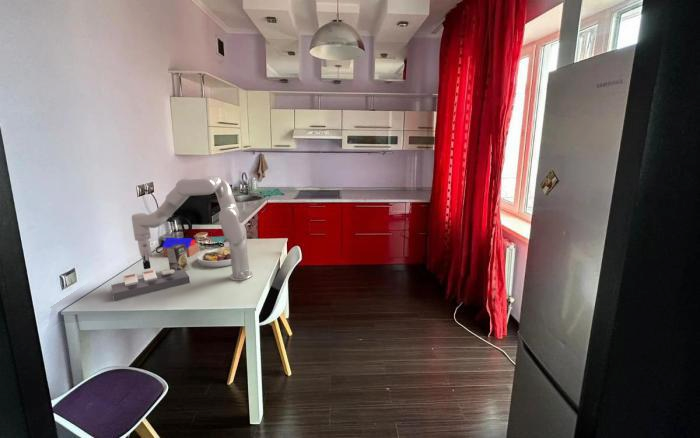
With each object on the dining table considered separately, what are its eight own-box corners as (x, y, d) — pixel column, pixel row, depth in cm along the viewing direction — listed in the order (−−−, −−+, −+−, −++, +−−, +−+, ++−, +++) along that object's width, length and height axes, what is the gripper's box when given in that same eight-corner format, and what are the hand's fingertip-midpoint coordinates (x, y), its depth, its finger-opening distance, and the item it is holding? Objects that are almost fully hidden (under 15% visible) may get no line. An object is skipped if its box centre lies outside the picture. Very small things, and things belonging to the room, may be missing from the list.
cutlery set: (230, 237, 295) (229, 235, 295) (221, 249, 266) (220, 246, 266) (204, 239, 294) (204, 236, 293) (192, 251, 265) (192, 248, 264)
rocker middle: (157, 280, 201) (157, 277, 200) (145, 283, 198) (144, 280, 197) (154, 273, 207) (154, 269, 206) (142, 275, 204) (142, 272, 203)
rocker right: (175, 273, 205) (174, 269, 205) (163, 276, 202) (162, 272, 202) (173, 272, 212) (172, 269, 212) (161, 275, 209) (160, 271, 209)
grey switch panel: (190, 283, 206) (189, 275, 205) (114, 301, 186) (112, 293, 185) (184, 275, 217) (183, 268, 216) (112, 291, 197) (111, 284, 196)
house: (174, 251, 265) (171, 235, 263) (199, 251, 262) (197, 235, 259) (163, 256, 254) (160, 240, 251) (189, 257, 250) (187, 240, 248)
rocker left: (138, 284, 196) (138, 281, 195) (125, 287, 193) (125, 284, 192) (136, 276, 202) (136, 273, 201) (123, 279, 199) (123, 276, 198)
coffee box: (179, 274, 219) (175, 248, 215) (170, 274, 220) (166, 248, 216) (189, 269, 227) (185, 244, 224) (179, 268, 229) (176, 243, 225)
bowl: (191, 261, 243) (190, 249, 241) (234, 250, 262) (233, 240, 261) (209, 272, 221) (207, 260, 219) (255, 260, 240) (253, 248, 239)
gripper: (152, 238, 196) (156, 270, 200) (148, 232, 208) (152, 263, 212) (136, 240, 191) (141, 274, 196) (133, 234, 203) (138, 266, 208)
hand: (147, 268), depth 204 cm, fingers closed
